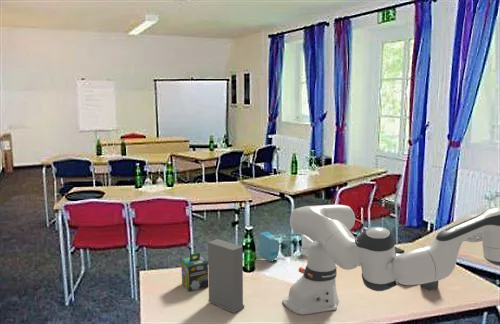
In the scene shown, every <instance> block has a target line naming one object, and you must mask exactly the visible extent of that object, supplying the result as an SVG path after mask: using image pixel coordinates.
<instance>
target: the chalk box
mask: <svg viewBox="0 0 500 324" xmlns="http://www.w3.org/2000/svg"><path fill="white" fill-rule="evenodd" d="M180 263H181V264H180V265H181V267H180V268H181V284H182V285H183V286H184V287H185V288H186V289H187V290H188V291H189V292H191V291H192V292H193V291H197V290H201V289H206V288H209V272H208V260H206V259H205V258H204V257H203V256H202V255H201V252H196V253H191V254H190V255H189V257H186V258H181V260H180Z"/></svg>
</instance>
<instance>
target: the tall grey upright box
mask: <svg viewBox="0 0 500 324" xmlns="http://www.w3.org/2000/svg"><path fill="white" fill-rule="evenodd" d="M243 250H244V249H243V246H241V245H238V244H235V243H232V242H228V241H225V240H221V239H219V238H216V239H214V240H211V241H208V242H207V256H208V257H207V258H208V260H207V262H208V301H207V302H208V303H209V304H213V305H214V306H217V307H219V308H221V309H224V310H226V311H228V312H230V313H233V314H235V313H236V312H239V311H240V310H242V309H245V305H244V288H243V287H244V281H243V280H244V279H243V278H244V270H243V269H244V268H243V267H244V266H243V265H244V262H243V260H244V259H243V258H244V257H243V256H244V255H243V253H244V251H243Z"/></svg>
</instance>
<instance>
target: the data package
mask: <svg viewBox="0 0 500 324" xmlns="http://www.w3.org/2000/svg"><path fill="white" fill-rule="evenodd" d="M275 237H277V236H276V235H274V234H272V233H271V232H269V231H264V232H259V234H258V255H259V256H260V257H261V258H263V259H264V260H266V261H267V260H268V261H267V262H269V261H271V262H273V261H272V260H274V259H275V258H277V256H278V257H279V242H278V243H277V242H276V241H275V240H274V238H275Z"/></svg>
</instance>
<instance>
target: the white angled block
mask: <svg viewBox="0 0 500 324" xmlns="http://www.w3.org/2000/svg"><path fill="white" fill-rule="evenodd" d="M314 241H315V240H314V239H312V238H310V237H308V236H305V235H302V234H301V248H300V254H301V253H302V254H303V255H302V256H305V257H307V256H308V247H309V245H310V244H311V243H312V242H314Z"/></svg>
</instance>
